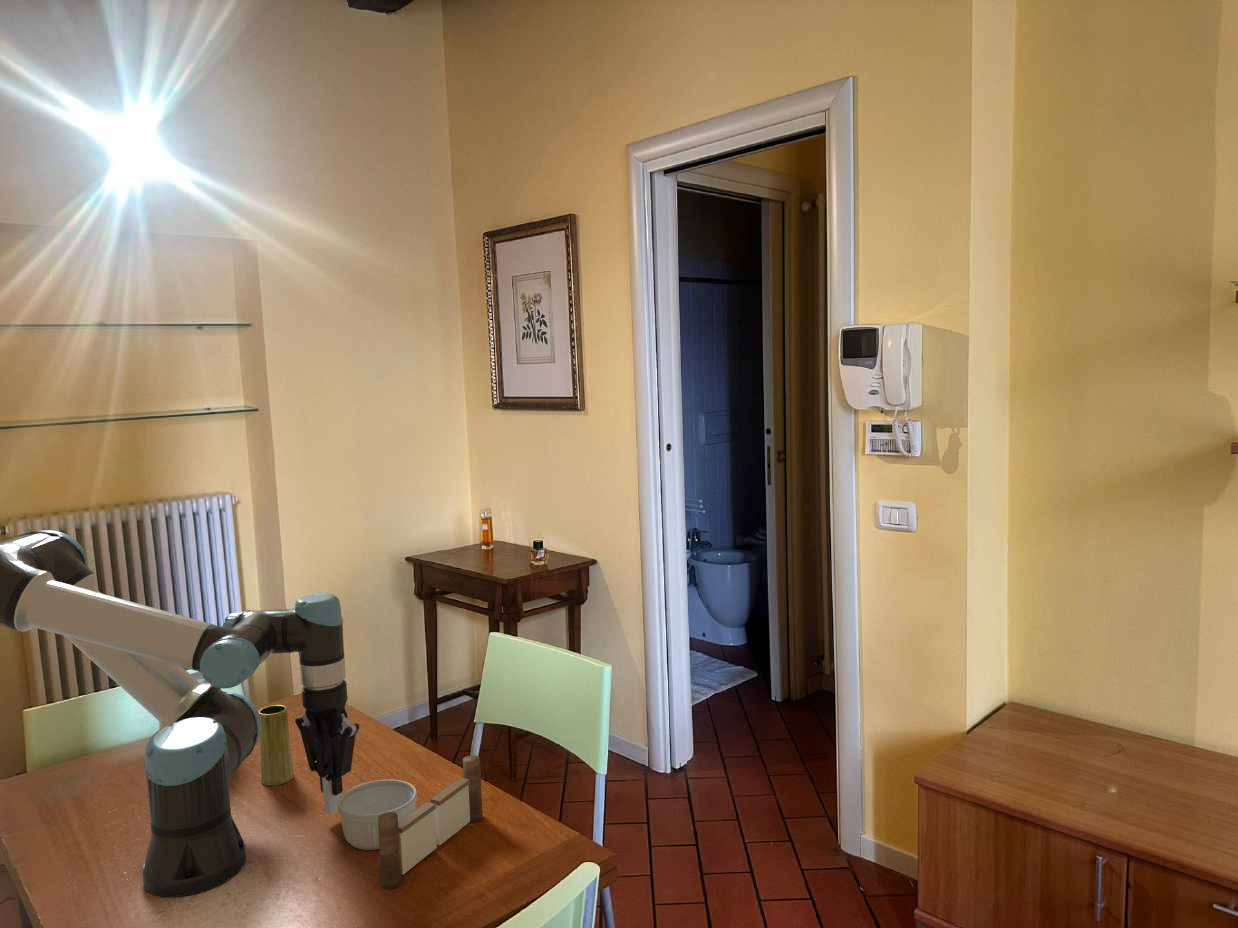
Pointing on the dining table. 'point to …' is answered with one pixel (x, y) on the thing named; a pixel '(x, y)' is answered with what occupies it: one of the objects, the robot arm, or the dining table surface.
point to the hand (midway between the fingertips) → (333, 809)
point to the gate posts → (391, 833)
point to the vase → (275, 746)
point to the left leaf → (417, 836)
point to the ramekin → (373, 809)
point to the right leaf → (451, 809)
